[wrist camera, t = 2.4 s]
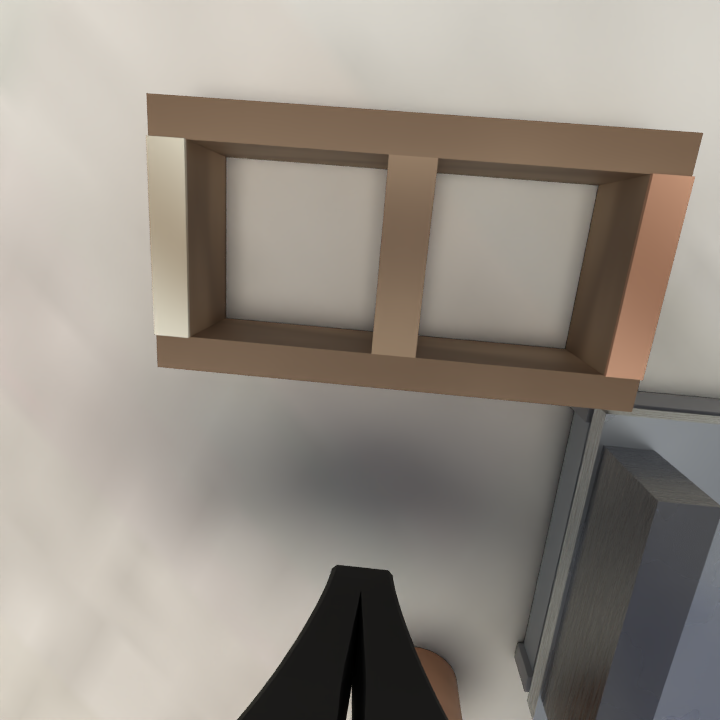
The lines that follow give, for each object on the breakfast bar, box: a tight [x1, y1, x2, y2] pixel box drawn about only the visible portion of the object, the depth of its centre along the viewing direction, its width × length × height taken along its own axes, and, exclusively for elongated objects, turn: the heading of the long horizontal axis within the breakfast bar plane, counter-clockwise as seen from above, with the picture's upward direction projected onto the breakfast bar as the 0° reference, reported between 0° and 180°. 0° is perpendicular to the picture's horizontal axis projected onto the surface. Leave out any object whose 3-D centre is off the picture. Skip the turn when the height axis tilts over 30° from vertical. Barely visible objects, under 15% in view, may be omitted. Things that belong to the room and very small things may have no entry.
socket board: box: [146, 93, 703, 412], centre depth 11 cm, size 6×11×2 cm, turn 85°
